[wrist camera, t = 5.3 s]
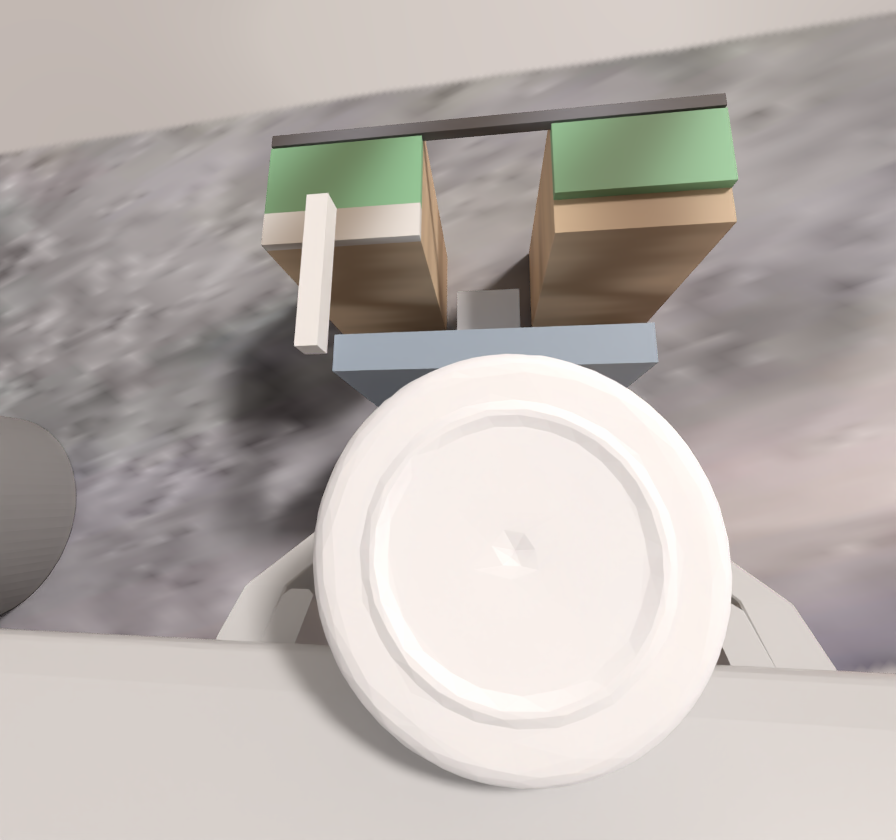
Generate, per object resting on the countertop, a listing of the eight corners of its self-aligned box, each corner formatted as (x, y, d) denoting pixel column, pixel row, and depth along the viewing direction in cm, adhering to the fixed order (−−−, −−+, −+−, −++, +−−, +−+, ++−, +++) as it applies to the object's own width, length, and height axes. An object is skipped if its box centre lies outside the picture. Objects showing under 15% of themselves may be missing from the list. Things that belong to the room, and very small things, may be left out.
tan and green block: (636, 246, 19) (725, 93, 12) (644, 325, 18) (743, 214, 11) (349, 262, 20) (272, 135, 13) (345, 336, 20) (261, 245, 12)
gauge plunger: (576, 319, 18) (649, 168, 10) (582, 423, 17) (668, 354, 9) (387, 326, 19) (306, 194, 11) (384, 425, 18) (292, 365, 10)
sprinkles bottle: (548, 563, 17) (795, 828, 3) (439, 564, 17) (285, 806, 4) (540, 454, 17) (716, 329, 4) (437, 457, 18) (306, 351, 5)
